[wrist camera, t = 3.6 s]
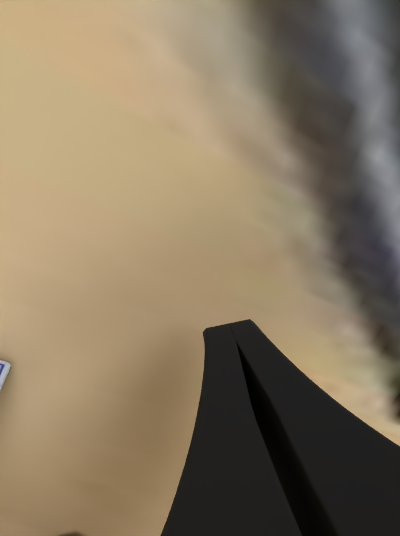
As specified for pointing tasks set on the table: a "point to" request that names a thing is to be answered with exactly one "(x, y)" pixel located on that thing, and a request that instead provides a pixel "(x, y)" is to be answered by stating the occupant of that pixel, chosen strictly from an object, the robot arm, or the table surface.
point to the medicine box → (4, 372)
